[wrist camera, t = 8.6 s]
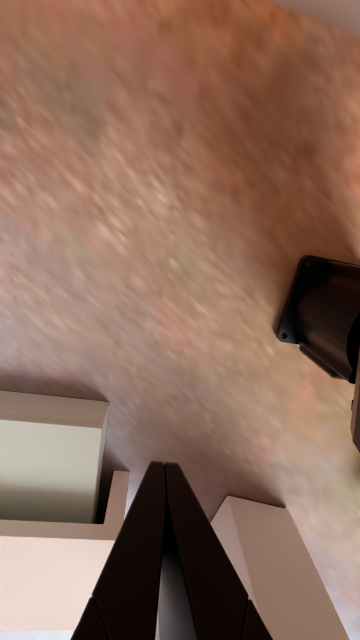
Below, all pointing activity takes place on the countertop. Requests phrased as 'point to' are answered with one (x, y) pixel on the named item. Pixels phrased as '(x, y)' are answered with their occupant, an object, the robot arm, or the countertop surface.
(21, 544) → the overhang
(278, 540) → the milk carton
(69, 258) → the countertop surface
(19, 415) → the cream rectangular slab
